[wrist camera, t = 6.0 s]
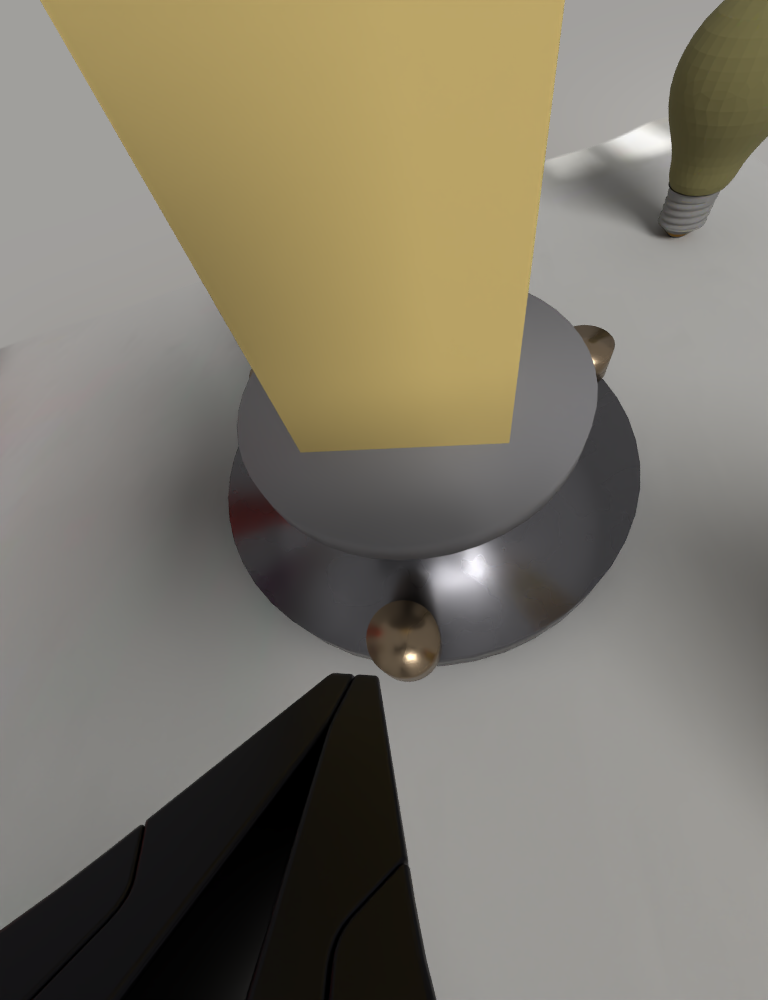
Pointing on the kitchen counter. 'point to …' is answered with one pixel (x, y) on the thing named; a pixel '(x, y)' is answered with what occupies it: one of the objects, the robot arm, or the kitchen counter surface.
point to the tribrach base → (454, 562)
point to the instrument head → (363, 246)
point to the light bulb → (716, 110)
